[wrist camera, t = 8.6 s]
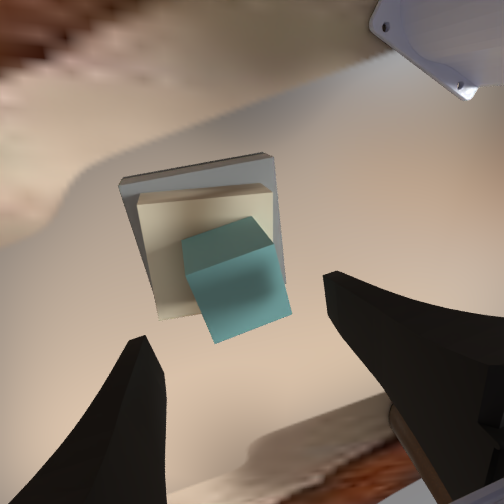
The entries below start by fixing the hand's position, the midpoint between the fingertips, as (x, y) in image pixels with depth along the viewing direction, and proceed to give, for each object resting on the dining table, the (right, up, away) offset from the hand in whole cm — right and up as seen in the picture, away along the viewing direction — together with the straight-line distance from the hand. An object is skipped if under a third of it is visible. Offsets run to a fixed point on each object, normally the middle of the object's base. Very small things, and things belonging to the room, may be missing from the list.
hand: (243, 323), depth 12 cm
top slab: (-2, +3, +7) cm, 9 cm away
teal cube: (-1, +2, +5) cm, 6 cm away
